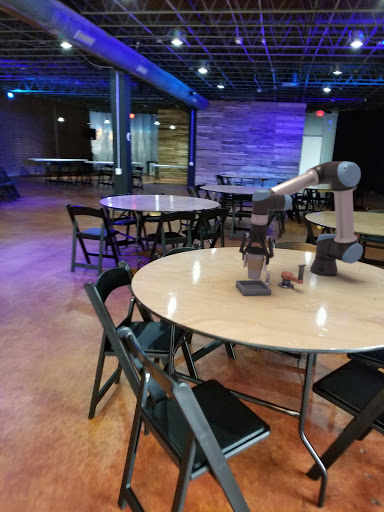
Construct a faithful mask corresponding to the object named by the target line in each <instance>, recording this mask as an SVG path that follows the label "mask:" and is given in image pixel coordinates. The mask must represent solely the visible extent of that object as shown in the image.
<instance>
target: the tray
mask: <svg viewBox="0 0 384 512" xmlns="http://www.w3.org/2000/svg"><path fill="white" fill-rule="evenodd" d="M264 282H265V281H264V280H262V279H259V280H252V279H248V280H247V279H246V280H245V279H242V280H241V279H240V280H239V279H238V280H237V279H236V280H235V287H236V288H237V290H238V291H239V292H240V294H241V295H242V296H243V297H256V296H257V297H260V296H261V297H262V296H263V297H265V296H266V297H267V296H272V291H273V290H272V288H271V287H269V286H268V285H266V284H265V283H264Z"/></svg>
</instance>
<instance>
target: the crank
mask: <svg viewBox="0 0 384 512" xmlns="http://www.w3.org/2000/svg"><path fill="white" fill-rule="evenodd" d="M306 266H307V264H304V263H303V264H300V265H299V264H298V267H297V268H298V276H295V275H294V273H293V272H292V271H287V270H286V271H285V270H284V271H281V273H280V274H281V275H280V278H281V280H282V279H286V280H291V282H294V283H296V284H298V285H303V284H304V276H305V275H304V274H305V267H306Z"/></svg>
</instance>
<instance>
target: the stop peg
mask: <svg viewBox="0 0 384 512" xmlns="http://www.w3.org/2000/svg"><path fill="white" fill-rule="evenodd" d="M265 272H266V273H265V281H263V282H264V283H265V284H266V285H267V286H268V285H269V286H270V285H271V284H272V282H271V281H270V278H271V271H270V270H266V271H265Z"/></svg>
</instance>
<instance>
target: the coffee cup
mask: <svg viewBox="0 0 384 512" xmlns="http://www.w3.org/2000/svg"><path fill="white" fill-rule="evenodd" d="M246 252H247V253H246V254H248V257H247V267H246V268H247V278H248V280H261V276H262V272H263V266H264V258H266V256H265V254H264V251H263V249H262V246H256V245H251V247H248V249H247V251H246Z"/></svg>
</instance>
